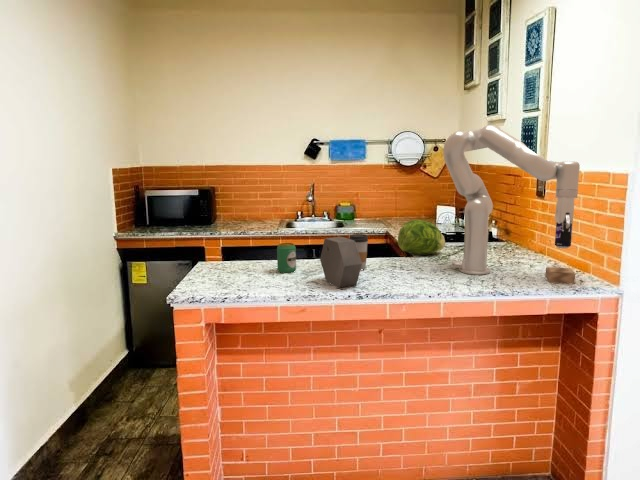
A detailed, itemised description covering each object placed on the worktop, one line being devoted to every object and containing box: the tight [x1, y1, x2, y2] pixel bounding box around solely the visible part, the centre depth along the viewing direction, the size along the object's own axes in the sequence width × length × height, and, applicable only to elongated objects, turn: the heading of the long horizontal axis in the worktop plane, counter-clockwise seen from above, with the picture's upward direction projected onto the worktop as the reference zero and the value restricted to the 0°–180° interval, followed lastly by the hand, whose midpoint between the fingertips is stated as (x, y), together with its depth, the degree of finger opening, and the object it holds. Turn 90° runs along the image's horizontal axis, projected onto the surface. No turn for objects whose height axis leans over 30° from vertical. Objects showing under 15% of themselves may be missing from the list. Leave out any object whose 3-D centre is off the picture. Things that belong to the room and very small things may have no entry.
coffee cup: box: [348, 233, 369, 270], centre depth 213 cm, size 8×8×15 cm
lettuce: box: [397, 219, 446, 256], centre depth 245 cm, size 18×23×19 cm
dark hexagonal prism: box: [319, 236, 362, 289], centre depth 190 cm, size 17×8×21 cm
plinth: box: [544, 266, 576, 285], centre depth 193 cm, size 9×9×4 cm
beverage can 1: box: [276, 242, 297, 274], centre depth 210 cm, size 8×8×12 cm
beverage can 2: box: [554, 220, 574, 249], centre depth 190 cm, size 6×6×12 cm
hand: (563, 239), depth 190 cm, fingers closed on beverage can 2, 5 cm apart
